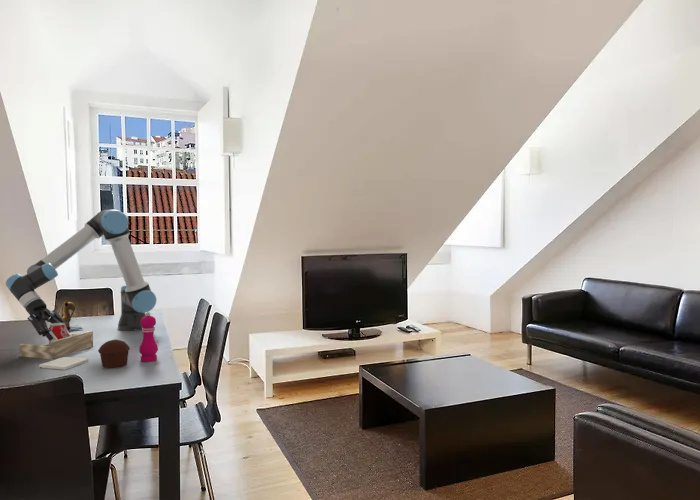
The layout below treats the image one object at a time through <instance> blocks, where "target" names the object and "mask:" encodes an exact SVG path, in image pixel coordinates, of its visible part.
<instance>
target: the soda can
mask: <svg viewBox="0 0 700 500" xmlns="http://www.w3.org/2000/svg"><path fill="white" fill-rule="evenodd" d="M48 328H49V332H50V331H52V333H53V334H54V335H55V336H56V338H57V339H58V340H59V339H63V338H66V337H67V327H66V325H65V323H50V325H49V327H48ZM50 342H51V341H50V340H48V343H49V346H50Z"/></svg>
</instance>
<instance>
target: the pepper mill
mask: <svg viewBox="0 0 700 500" xmlns="http://www.w3.org/2000/svg"><path fill="white" fill-rule="evenodd" d="M145 314H146V316H144V317H143V318H142V319H141V321H140V324H141V326H142V327H143V328H142V329H141V332H142V335H143V336H142V341H141V343H140V345H139V350H138V352H139V353H140V355H141V356H140V361H141V362H142V363H143V362H144V363H149V362H151V363H152V362H155V361H156V360H158V355H157V352H159V348H158V347H159V346H158V344H157V341H156V338H155V337H154V336H155V334H154V333H155V330H156V329H155V328H156V327H155V326H156V323H157V320H156V317H155V316H153V315H151V312H150V311H149V312H145Z"/></svg>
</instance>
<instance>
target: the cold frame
mask: <svg viewBox="0 0 700 500" xmlns="http://www.w3.org/2000/svg"><path fill="white" fill-rule="evenodd" d="M70 334H71V335H72V336H70V337H66V338H63V339H59V340H56V341H52V342H50V346H49V342H48V343H44V344H40V345H39V344H38V345H37V344H28V343H27V344H25V343H20V344H19V346H18V347H19V348H18V350H19V357H22V358H23V357H24V358H33V359H34V358H35V359H36V358H37V359H45V360H47V359H49V360H55V359H58V358H61V357H62V356H63V357H65V356H67V355H70V354H72V353H75V352H78V351H81V350H84V349H87V348H91V347H93V346H94V330H88V331H85V332H82V333H71V332H70Z"/></svg>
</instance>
